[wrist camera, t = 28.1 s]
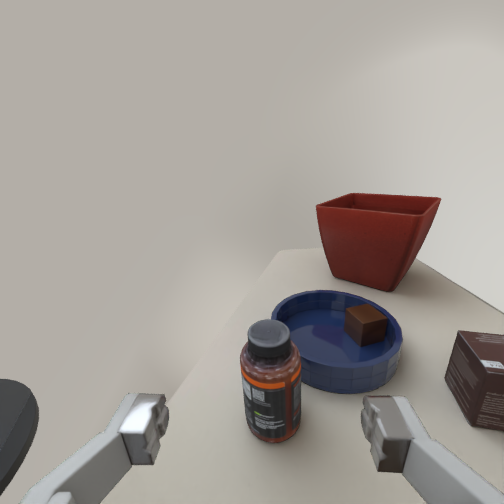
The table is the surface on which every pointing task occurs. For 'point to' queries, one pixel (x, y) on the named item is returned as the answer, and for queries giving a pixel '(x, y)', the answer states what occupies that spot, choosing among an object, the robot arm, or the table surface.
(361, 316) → the block
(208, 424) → the table surface
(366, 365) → the bowl
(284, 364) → the supplement bottle
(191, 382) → the table surface
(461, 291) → the table surface
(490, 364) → the box
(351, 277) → the flower pot
